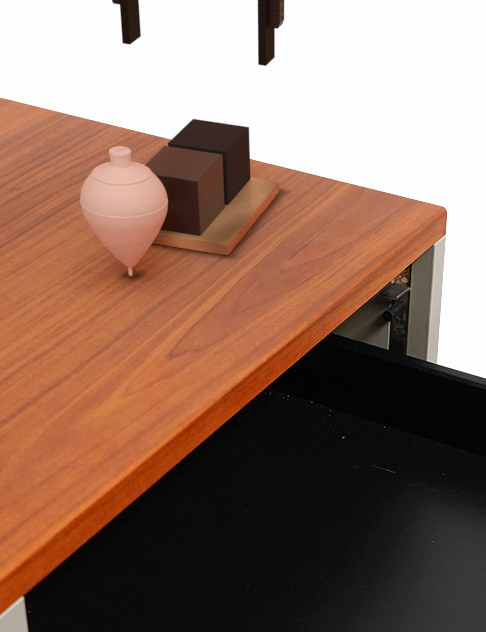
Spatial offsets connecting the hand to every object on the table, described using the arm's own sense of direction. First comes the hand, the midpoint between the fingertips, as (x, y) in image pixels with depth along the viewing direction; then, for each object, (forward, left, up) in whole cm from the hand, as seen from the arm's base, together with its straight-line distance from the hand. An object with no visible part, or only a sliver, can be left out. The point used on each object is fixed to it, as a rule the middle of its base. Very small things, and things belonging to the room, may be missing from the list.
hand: (198, 50), depth 134 cm
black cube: (+1, 0, -14) cm, 14 cm away
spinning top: (0, -19, -15) cm, 24 cm away
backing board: (+1, -4, -15) cm, 15 cm away
